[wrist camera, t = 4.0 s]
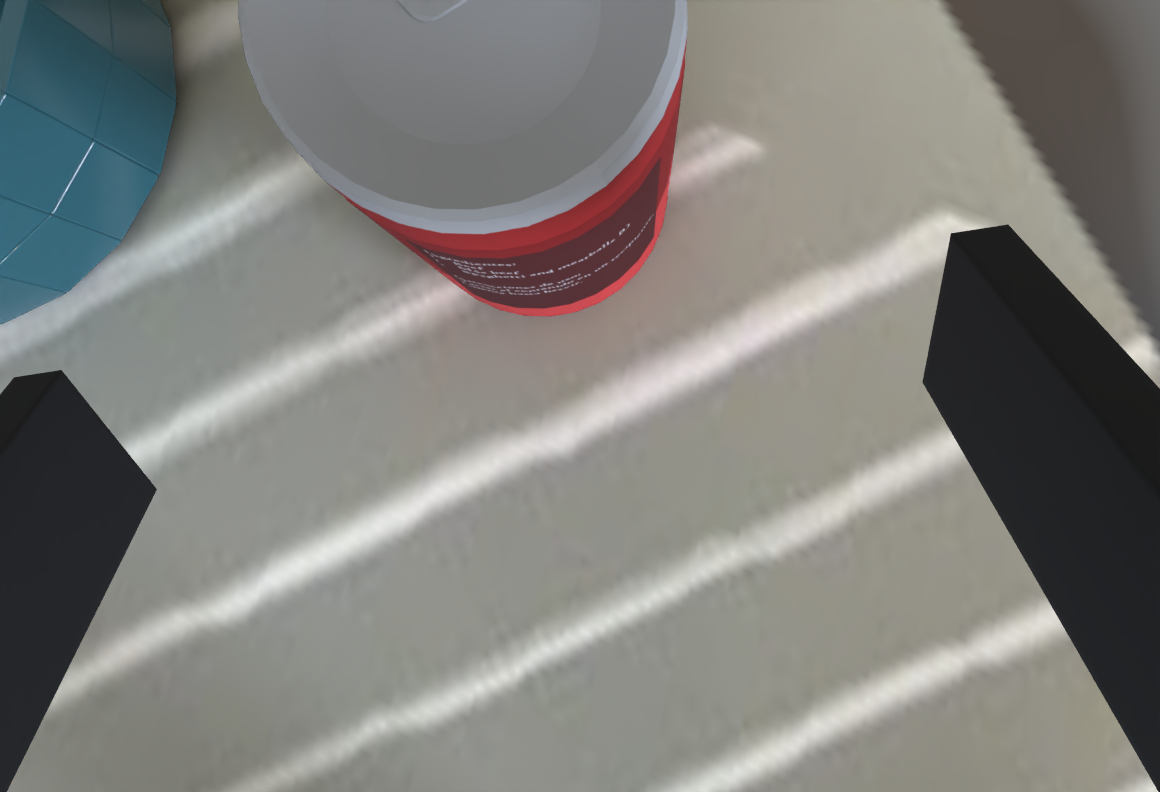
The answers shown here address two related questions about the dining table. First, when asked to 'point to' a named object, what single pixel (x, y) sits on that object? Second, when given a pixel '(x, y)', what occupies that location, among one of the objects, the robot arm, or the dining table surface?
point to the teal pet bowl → (76, 136)
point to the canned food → (487, 130)
